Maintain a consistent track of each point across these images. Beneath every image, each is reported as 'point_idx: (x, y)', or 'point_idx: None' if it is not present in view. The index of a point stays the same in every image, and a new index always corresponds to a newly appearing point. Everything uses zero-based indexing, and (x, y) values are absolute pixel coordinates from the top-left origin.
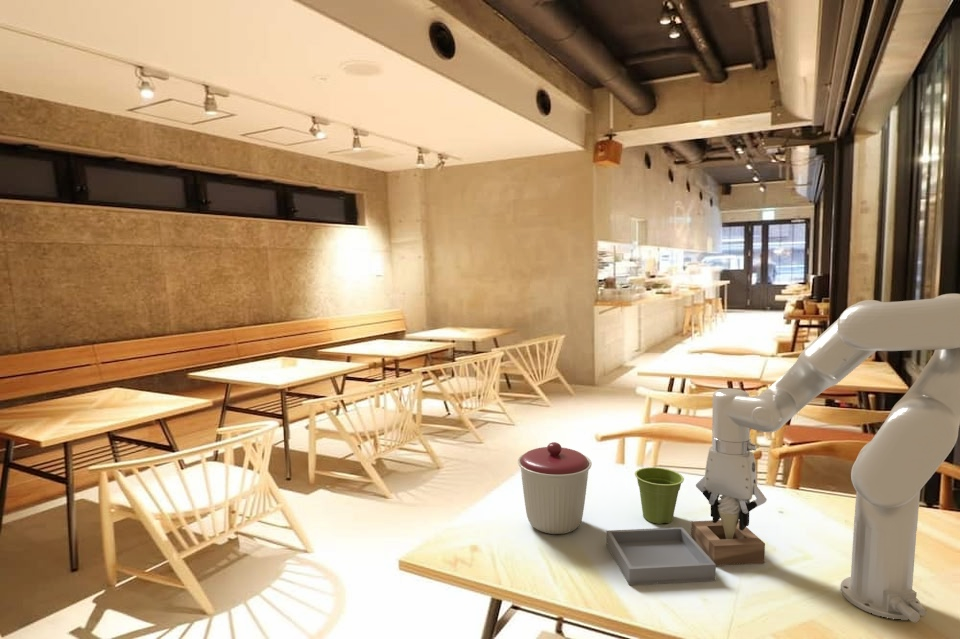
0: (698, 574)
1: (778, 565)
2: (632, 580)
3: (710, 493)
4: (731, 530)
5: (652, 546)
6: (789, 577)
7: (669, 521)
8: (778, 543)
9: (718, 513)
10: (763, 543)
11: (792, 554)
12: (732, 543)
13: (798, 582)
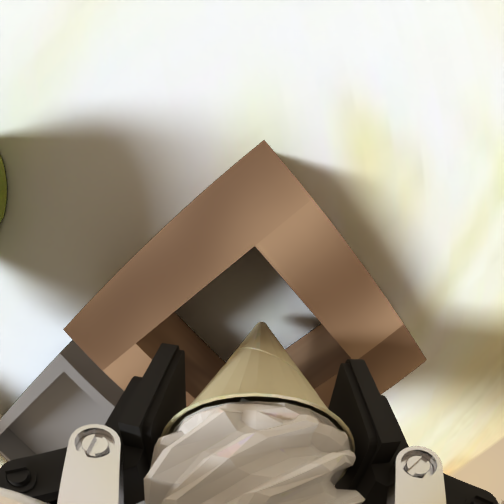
0: None
1: (433, 300)
2: None
3: (52, 489)
4: (277, 398)
5: (60, 414)
6: (453, 351)
7: (2, 208)
8: (424, 112)
9: (173, 409)
10: (420, 363)
11: (471, 184)
12: None
13: (468, 360)
